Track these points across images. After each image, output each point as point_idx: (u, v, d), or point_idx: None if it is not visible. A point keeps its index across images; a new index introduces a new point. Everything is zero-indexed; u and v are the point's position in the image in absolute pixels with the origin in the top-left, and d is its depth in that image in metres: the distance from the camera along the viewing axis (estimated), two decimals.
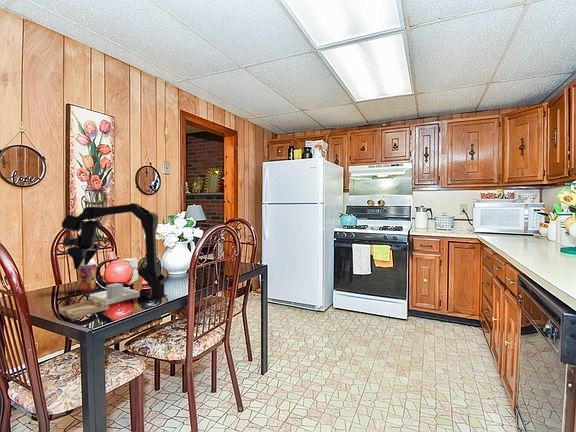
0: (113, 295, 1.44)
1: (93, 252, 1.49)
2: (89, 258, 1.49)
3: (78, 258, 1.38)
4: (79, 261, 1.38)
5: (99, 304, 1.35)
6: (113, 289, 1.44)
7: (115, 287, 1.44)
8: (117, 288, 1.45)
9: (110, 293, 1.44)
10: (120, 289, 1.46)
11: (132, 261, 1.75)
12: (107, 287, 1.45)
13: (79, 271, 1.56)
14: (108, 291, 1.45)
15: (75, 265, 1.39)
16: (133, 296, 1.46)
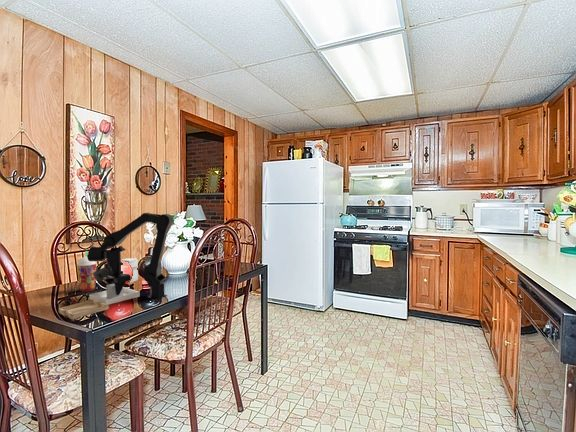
0: (113, 295, 1.44)
1: None
2: None
3: (120, 283, 1.45)
4: (122, 286, 1.45)
5: (99, 304, 1.35)
6: (113, 289, 1.44)
7: None
8: None
9: (110, 293, 1.44)
10: None
11: (132, 261, 1.75)
12: (107, 287, 1.45)
13: (79, 271, 1.56)
14: (108, 291, 1.45)
15: (118, 291, 1.45)
16: (133, 296, 1.46)
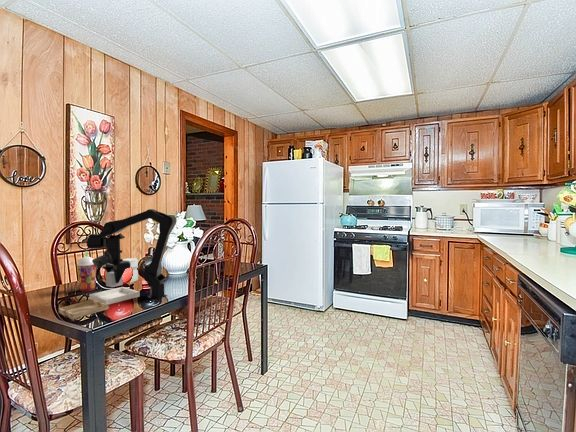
0: (112, 282, 1.43)
1: None
2: None
3: (119, 271, 1.44)
4: (121, 273, 1.45)
5: (99, 304, 1.35)
6: (112, 276, 1.43)
7: (114, 275, 1.44)
8: None
9: (109, 281, 1.44)
10: None
11: (132, 261, 1.75)
12: (106, 275, 1.45)
13: (79, 271, 1.56)
14: (107, 279, 1.45)
15: (117, 279, 1.44)
16: (133, 296, 1.46)
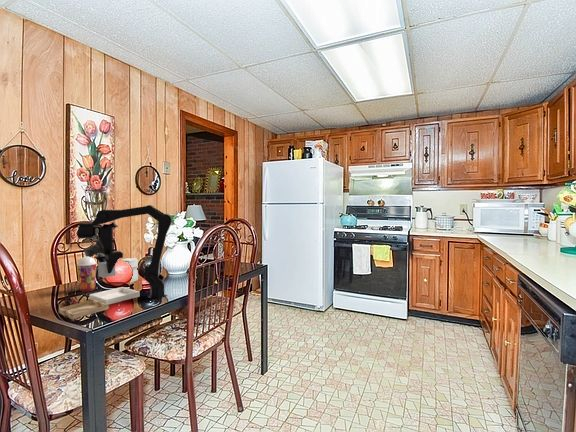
0: (104, 273, 1.39)
1: None
2: None
3: (112, 261, 1.40)
4: (113, 264, 1.40)
5: (99, 304, 1.35)
6: (104, 267, 1.39)
7: None
8: None
9: (101, 271, 1.39)
10: None
11: (132, 261, 1.75)
12: (99, 265, 1.41)
13: (79, 271, 1.56)
14: (99, 269, 1.40)
15: (109, 269, 1.40)
16: (133, 296, 1.46)
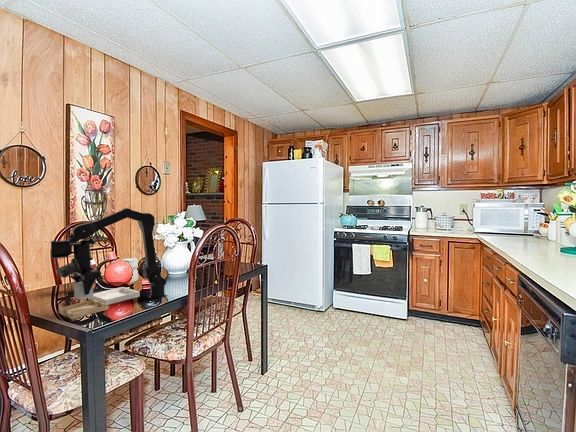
0: (81, 294, 1.26)
1: None
2: None
3: (89, 281, 1.27)
4: (91, 284, 1.28)
5: (99, 304, 1.35)
6: (81, 287, 1.26)
7: None
8: None
9: (78, 292, 1.27)
10: None
11: (132, 261, 1.75)
12: (74, 285, 1.28)
13: None
14: (75, 290, 1.28)
15: (86, 290, 1.27)
16: (133, 296, 1.46)
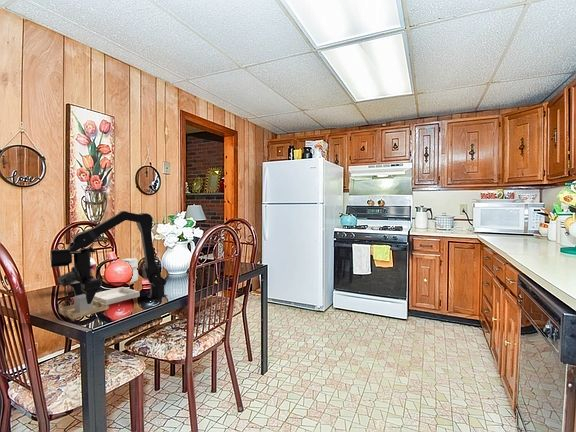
0: (81, 308, 1.27)
1: None
2: (81, 291, 1.33)
3: (91, 290, 1.26)
4: (93, 293, 1.27)
5: (99, 304, 1.35)
6: (81, 301, 1.27)
7: (84, 299, 1.27)
8: (86, 300, 1.28)
9: (78, 306, 1.27)
10: None
11: (132, 261, 1.75)
12: (75, 298, 1.28)
13: None
14: (76, 303, 1.28)
15: (89, 299, 1.26)
16: (133, 296, 1.46)
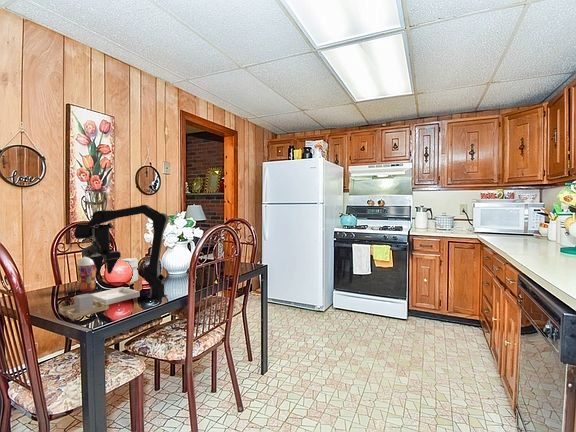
0: (81, 308, 1.27)
1: (102, 257, 1.47)
2: (100, 263, 1.46)
3: (111, 261, 1.40)
4: (113, 264, 1.41)
5: (99, 304, 1.35)
6: (81, 301, 1.27)
7: (84, 299, 1.27)
8: (86, 300, 1.28)
9: (78, 306, 1.27)
10: (90, 301, 1.29)
11: (132, 261, 1.75)
12: (75, 298, 1.28)
13: (79, 271, 1.56)
14: (76, 303, 1.28)
15: (109, 269, 1.40)
16: (133, 296, 1.46)
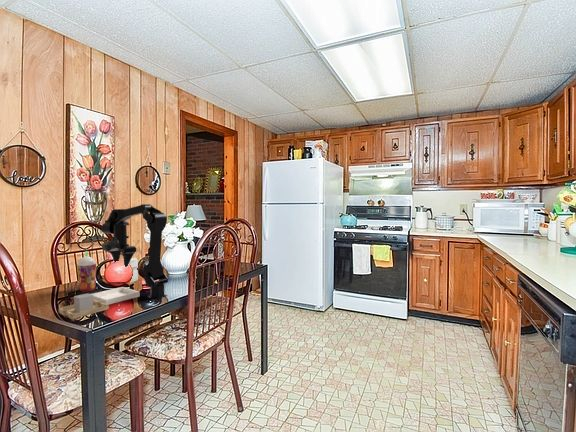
0: (81, 308, 1.27)
1: (119, 251, 1.62)
2: (118, 257, 1.61)
3: (128, 255, 1.55)
4: (130, 258, 1.55)
5: (99, 304, 1.35)
6: (81, 301, 1.27)
7: (84, 299, 1.27)
8: (86, 300, 1.28)
9: (78, 306, 1.27)
10: (90, 301, 1.29)
11: (132, 261, 1.75)
12: (75, 298, 1.28)
13: (79, 271, 1.56)
14: (76, 303, 1.28)
15: (126, 262, 1.55)
16: (133, 296, 1.46)
